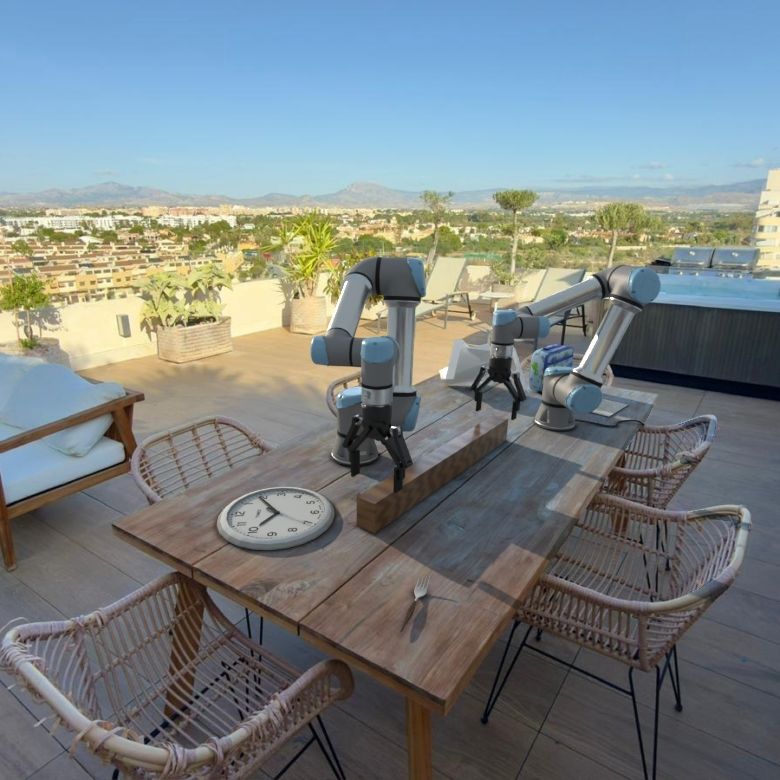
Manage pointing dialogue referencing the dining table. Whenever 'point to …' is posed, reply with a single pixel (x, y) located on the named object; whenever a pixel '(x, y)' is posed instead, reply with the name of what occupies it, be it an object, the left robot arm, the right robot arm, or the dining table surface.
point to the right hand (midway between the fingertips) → (495, 414)
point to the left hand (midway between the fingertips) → (376, 482)
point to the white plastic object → (473, 364)
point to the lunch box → (548, 363)
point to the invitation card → (609, 407)
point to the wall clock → (275, 518)
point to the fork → (418, 593)
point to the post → (428, 474)
